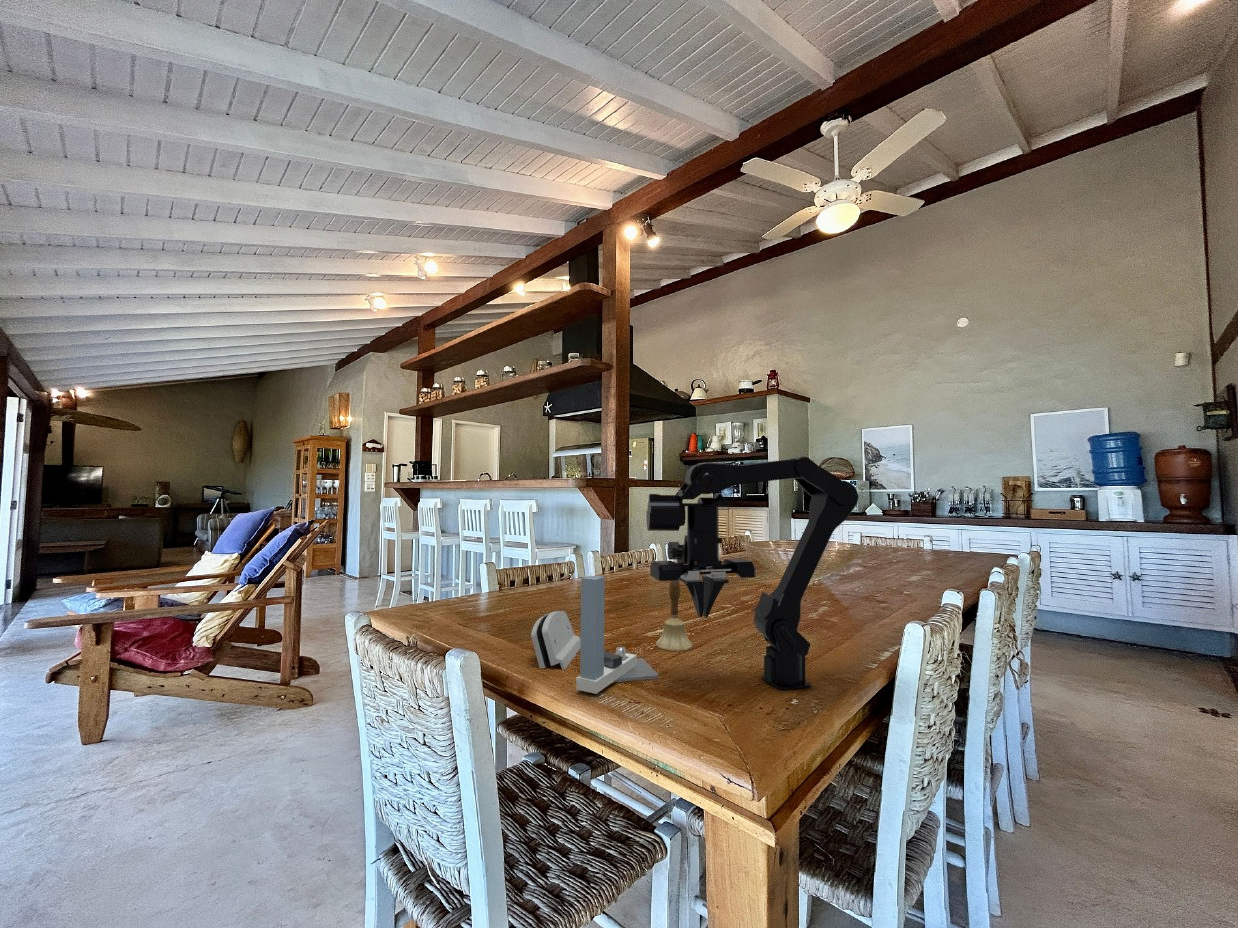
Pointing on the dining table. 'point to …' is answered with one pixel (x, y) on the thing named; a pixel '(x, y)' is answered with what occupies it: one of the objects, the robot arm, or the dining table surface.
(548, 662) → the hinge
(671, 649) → the hand bell
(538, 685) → the dining table surface
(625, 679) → the pintle block
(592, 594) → the link
